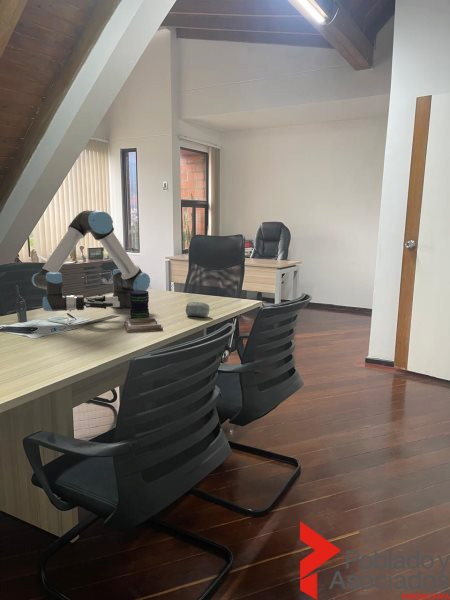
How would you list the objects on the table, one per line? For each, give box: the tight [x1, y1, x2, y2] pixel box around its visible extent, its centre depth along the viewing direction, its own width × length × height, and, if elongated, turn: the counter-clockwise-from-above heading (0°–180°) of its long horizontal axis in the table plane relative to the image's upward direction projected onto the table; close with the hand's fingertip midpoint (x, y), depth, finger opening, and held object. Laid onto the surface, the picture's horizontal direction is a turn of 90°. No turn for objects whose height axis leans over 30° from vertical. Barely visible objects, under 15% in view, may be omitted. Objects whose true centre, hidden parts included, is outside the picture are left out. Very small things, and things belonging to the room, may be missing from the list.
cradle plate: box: [124, 317, 164, 333], centre depth 212 cm, size 17×17×3 cm
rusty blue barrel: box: [129, 290, 150, 319], centre depth 227 cm, size 10×10×15 cm
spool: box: [185, 301, 211, 318], centre depth 238 cm, size 14×10×10 cm
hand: (118, 301), depth 224 cm, fingers open, 13 cm apart
